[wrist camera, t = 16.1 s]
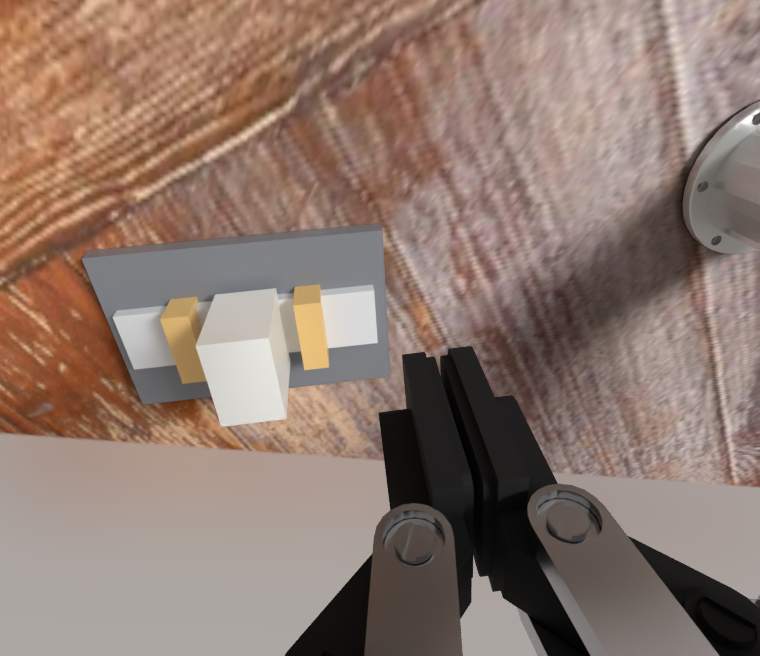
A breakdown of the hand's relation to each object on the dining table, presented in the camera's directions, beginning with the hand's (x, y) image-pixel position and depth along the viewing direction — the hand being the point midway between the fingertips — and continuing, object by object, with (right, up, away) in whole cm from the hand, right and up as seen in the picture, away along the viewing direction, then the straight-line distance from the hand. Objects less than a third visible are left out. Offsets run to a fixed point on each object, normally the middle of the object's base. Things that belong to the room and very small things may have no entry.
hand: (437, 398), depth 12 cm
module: (-11, +2, +27) cm, 29 cm away
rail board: (-12, +3, +29) cm, 31 cm away
